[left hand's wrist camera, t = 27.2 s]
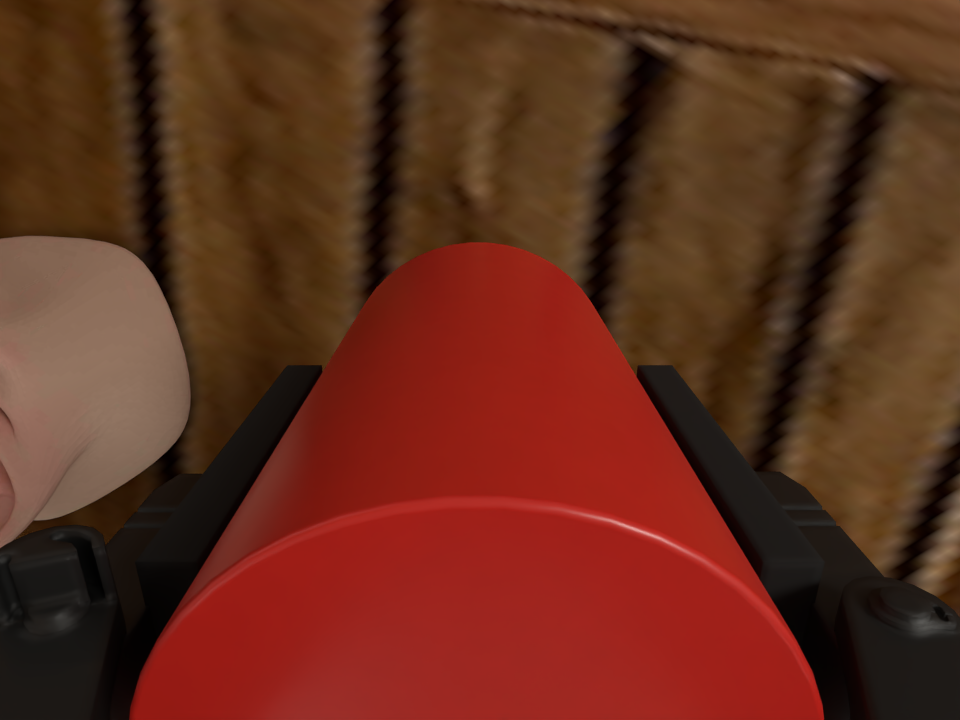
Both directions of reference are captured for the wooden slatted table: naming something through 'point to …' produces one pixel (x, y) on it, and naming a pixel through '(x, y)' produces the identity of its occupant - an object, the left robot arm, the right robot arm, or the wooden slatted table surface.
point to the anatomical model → (81, 375)
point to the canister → (477, 535)
